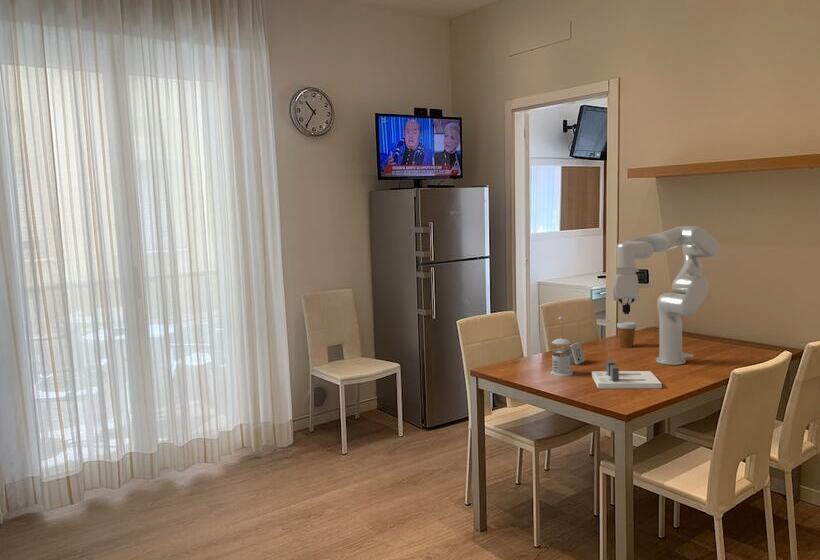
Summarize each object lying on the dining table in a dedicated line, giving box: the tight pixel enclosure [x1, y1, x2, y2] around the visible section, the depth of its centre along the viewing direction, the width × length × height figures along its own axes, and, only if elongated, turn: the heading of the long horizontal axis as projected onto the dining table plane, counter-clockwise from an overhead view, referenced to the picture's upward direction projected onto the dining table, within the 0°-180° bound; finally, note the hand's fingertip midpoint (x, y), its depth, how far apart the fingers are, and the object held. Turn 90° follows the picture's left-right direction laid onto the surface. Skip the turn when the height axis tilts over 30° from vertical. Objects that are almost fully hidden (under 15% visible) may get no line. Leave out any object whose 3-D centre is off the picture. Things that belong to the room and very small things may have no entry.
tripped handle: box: [610, 364, 620, 381], centre depth 256 cm, size 2×5×5 cm, turn 172°
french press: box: [550, 316, 574, 377], centre depth 278 cm, size 10×12×25 cm
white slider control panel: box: [591, 359, 663, 389], centre depth 260 cm, size 24×19×8 cm
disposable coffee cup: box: [616, 321, 637, 348], centre depth 324 cm, size 10×10×12 cm
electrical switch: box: [565, 341, 586, 366], centre depth 296 cm, size 9×5×9 cm, turn 141°
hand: (626, 313), depth 275 cm, fingers closed
